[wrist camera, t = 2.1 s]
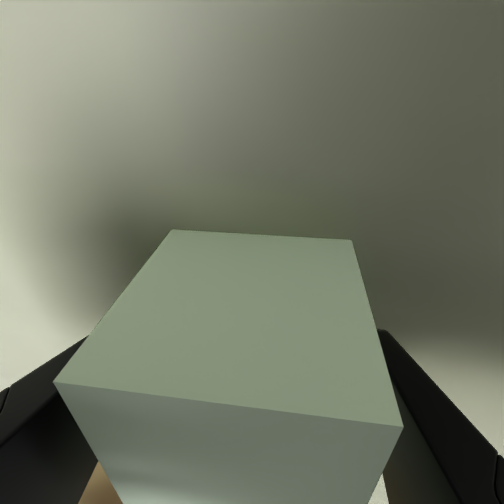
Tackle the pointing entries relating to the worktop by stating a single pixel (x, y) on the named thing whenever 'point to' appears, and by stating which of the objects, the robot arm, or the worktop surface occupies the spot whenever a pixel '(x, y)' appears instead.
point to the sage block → (238, 376)
